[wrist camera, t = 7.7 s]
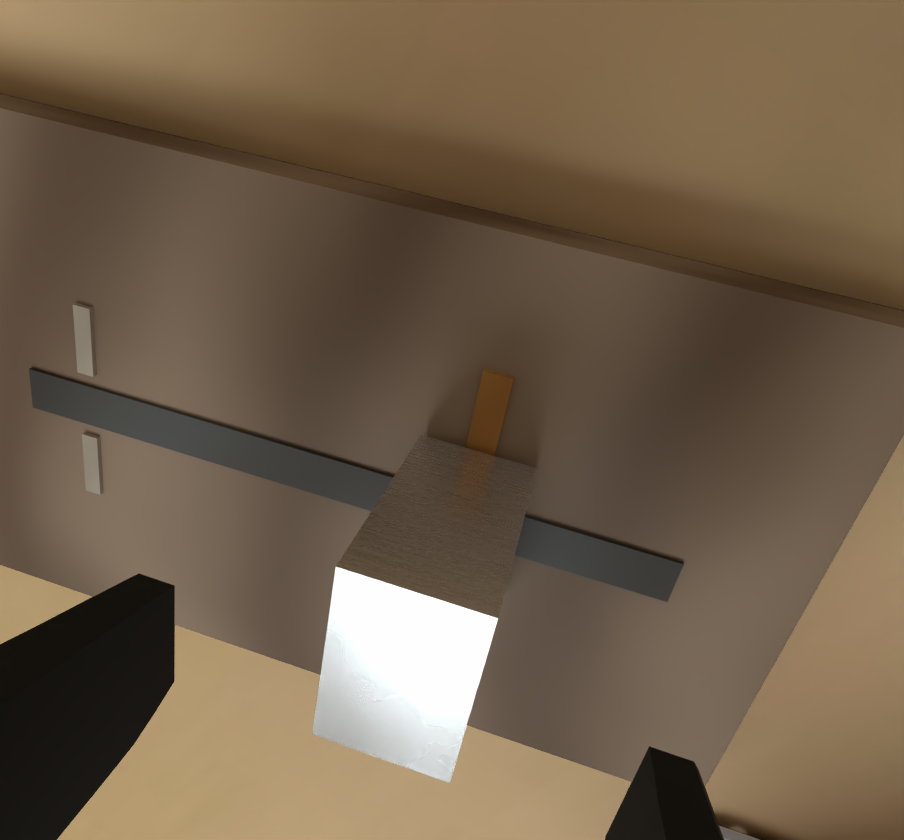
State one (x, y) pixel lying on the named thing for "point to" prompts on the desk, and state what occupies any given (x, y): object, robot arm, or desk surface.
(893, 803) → the desk surface
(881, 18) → the desk surface
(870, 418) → the console board
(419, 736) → the fader tab
